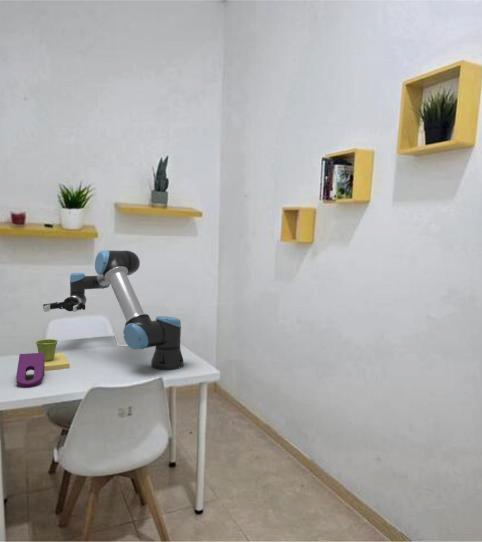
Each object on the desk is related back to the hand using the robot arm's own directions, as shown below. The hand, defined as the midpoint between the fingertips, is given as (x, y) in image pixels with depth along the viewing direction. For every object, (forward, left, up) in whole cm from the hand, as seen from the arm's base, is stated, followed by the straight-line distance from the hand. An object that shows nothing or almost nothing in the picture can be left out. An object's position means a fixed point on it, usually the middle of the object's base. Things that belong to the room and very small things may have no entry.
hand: (59, 309), depth 203 cm
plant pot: (-7, +6, -22) cm, 24 cm away
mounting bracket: (-28, +15, -25) cm, 40 cm away
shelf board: (-7, +4, -24) cm, 26 cm away
